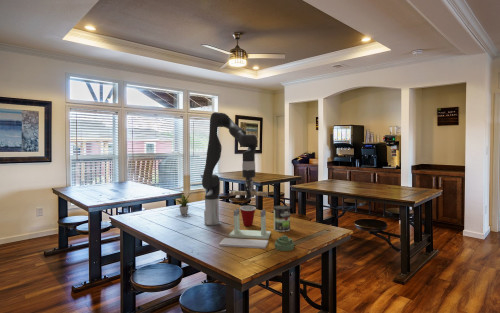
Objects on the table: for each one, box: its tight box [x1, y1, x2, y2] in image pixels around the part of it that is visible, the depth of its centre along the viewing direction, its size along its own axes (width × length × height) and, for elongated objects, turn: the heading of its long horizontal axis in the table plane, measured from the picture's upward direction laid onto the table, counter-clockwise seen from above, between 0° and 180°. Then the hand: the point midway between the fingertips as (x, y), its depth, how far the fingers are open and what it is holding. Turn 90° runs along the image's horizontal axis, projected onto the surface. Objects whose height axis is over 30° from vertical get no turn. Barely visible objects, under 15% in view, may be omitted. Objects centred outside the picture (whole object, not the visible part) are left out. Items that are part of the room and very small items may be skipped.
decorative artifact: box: [274, 233, 295, 252], centre depth 154 cm, size 10×7×10 cm
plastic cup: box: [239, 205, 257, 227], centre depth 197 cm, size 11×11×12 cm
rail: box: [230, 190, 269, 197], centre depth 174 cm, size 22×2×2 cm, turn 77°
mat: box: [218, 237, 269, 250], centre depth 160 cm, size 25×10×1 cm, turn 77°
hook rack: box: [228, 208, 272, 240], centre depth 175 cm, size 23×10×15 cm, turn 77°
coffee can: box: [273, 204, 291, 233], centre depth 186 cm, size 10×10×14 cm
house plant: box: [173, 193, 192, 215], centre depth 233 cm, size 14×14×16 cm
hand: (249, 198), depth 174 cm, fingers closed on rail, 2 cm apart
